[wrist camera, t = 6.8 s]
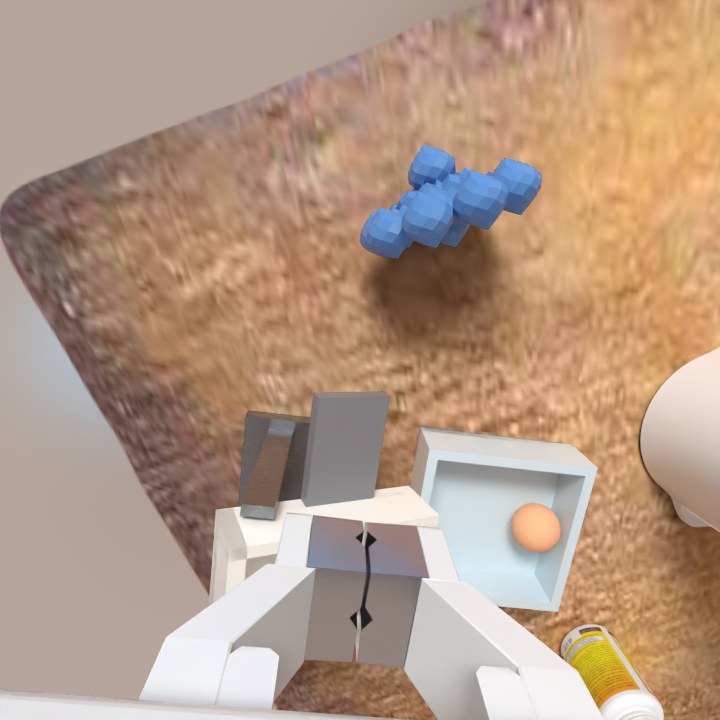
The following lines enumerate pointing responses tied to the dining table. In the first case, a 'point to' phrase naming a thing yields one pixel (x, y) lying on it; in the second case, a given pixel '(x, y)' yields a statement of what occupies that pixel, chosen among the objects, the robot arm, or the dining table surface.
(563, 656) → the supplement bottle
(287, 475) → the trough stand
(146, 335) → the dining table surface
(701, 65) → the dining table surface
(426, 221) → the grapes
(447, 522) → the pale blue tray
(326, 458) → the tipping trough
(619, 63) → the dining table surface
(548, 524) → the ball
